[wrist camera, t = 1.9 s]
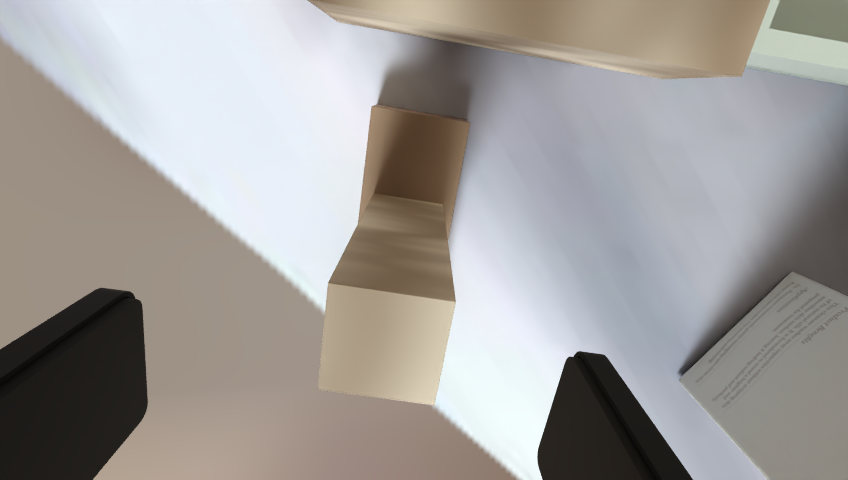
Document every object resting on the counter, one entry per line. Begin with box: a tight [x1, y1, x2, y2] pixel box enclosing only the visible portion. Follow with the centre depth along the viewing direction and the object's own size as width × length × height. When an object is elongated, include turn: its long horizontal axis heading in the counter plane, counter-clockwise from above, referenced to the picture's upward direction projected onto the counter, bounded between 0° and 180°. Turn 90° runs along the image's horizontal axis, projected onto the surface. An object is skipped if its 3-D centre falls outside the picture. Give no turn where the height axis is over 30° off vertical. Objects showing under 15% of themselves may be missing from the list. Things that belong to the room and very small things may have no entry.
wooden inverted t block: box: [318, 105, 470, 405], centre depth 16 cm, size 4×10×11 cm, turn 171°
